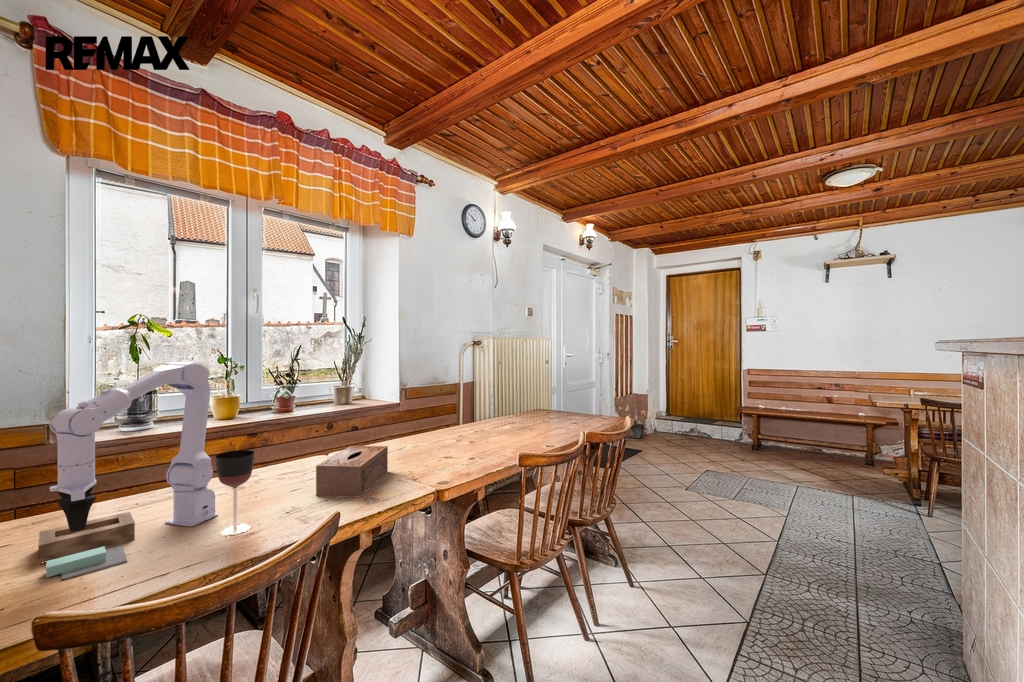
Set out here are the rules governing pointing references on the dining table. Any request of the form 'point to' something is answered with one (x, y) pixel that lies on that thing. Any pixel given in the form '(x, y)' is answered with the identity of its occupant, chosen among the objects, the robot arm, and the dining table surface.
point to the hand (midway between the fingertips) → (77, 524)
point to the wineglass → (235, 479)
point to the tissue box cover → (351, 471)
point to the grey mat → (112, 559)
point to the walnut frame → (85, 537)
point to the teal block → (75, 561)
